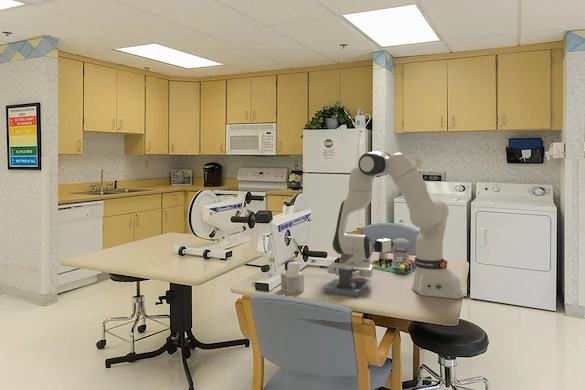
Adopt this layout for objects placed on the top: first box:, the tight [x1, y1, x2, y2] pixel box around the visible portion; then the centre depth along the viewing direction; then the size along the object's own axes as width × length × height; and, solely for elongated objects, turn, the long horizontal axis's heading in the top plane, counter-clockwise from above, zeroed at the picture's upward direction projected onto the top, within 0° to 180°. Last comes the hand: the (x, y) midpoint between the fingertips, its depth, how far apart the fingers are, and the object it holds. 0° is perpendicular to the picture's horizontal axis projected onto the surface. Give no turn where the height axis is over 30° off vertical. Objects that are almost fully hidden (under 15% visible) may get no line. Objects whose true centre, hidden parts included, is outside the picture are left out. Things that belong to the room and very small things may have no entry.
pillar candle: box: [340, 231, 358, 260], centre depth 264 cm, size 10×10×15 cm
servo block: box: [336, 267, 356, 289], centre depth 200 cm, size 6×8×10 cm
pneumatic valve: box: [373, 237, 394, 260], centre depth 259 cm, size 6×12×12 cm, turn 128°
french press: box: [392, 219, 414, 267], centre depth 240 cm, size 10×12×25 cm
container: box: [280, 259, 305, 294], centre depth 202 cm, size 8×8×13 cm
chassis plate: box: [323, 278, 368, 298], centre depth 201 cm, size 14×15×2 cm
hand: (345, 274), depth 200 cm, fingers open, 6 cm apart
